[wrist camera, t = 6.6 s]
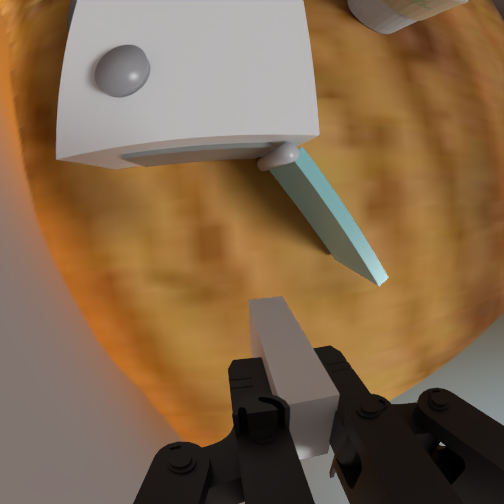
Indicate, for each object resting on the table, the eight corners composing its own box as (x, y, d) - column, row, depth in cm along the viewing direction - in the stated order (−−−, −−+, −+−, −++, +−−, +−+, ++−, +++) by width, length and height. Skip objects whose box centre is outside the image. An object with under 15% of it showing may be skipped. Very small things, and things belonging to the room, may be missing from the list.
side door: (254, 163, 20) (274, 150, 13) (276, 146, 20) (307, 126, 13) (329, 262, 23) (374, 293, 16) (348, 246, 23) (399, 269, 16)
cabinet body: (112, 5, 15) (78, -59, 6) (263, -9, 17) (289, -81, 7) (99, 175, 19) (25, 169, 9) (276, 159, 21) (326, 138, 11)
